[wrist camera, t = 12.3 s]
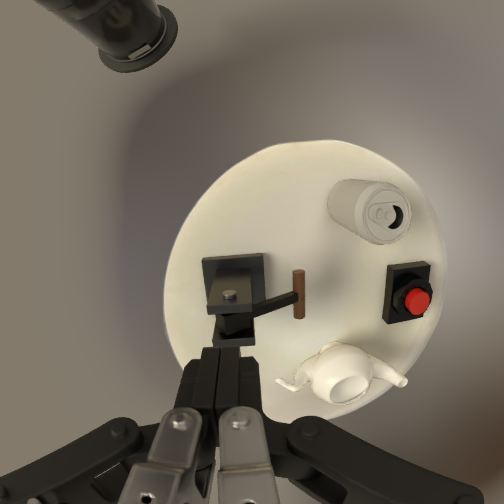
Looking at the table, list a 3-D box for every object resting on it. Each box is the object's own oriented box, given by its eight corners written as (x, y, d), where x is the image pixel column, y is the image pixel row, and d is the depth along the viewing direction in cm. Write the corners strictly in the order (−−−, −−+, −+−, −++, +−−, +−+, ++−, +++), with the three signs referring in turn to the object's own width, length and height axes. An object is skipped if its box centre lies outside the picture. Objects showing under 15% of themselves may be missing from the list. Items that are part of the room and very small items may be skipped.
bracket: (262, 252, 38) (269, 286, 27) (265, 306, 40) (273, 355, 29) (202, 257, 38) (185, 292, 27) (210, 311, 40) (198, 359, 29)
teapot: (274, 328, 41) (281, 367, 32) (392, 326, 42) (418, 357, 33) (268, 377, 44) (273, 417, 35) (377, 371, 45) (397, 404, 36)
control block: (387, 265, 39) (399, 274, 35) (423, 260, 39) (437, 268, 35) (381, 318, 42) (392, 330, 38) (416, 311, 42) (428, 322, 38)
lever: (296, 267, 34) (309, 272, 32) (297, 311, 36) (310, 318, 34) (211, 292, 29) (221, 300, 27) (219, 340, 31) (228, 350, 29)
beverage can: (363, 229, 38) (407, 252, 26) (321, 221, 37) (353, 242, 26) (372, 185, 36) (420, 192, 24) (330, 174, 36) (367, 175, 24)
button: (406, 289, 36) (412, 294, 35) (425, 286, 36) (431, 290, 35) (403, 311, 37) (408, 317, 36) (421, 307, 37) (427, 312, 36)
